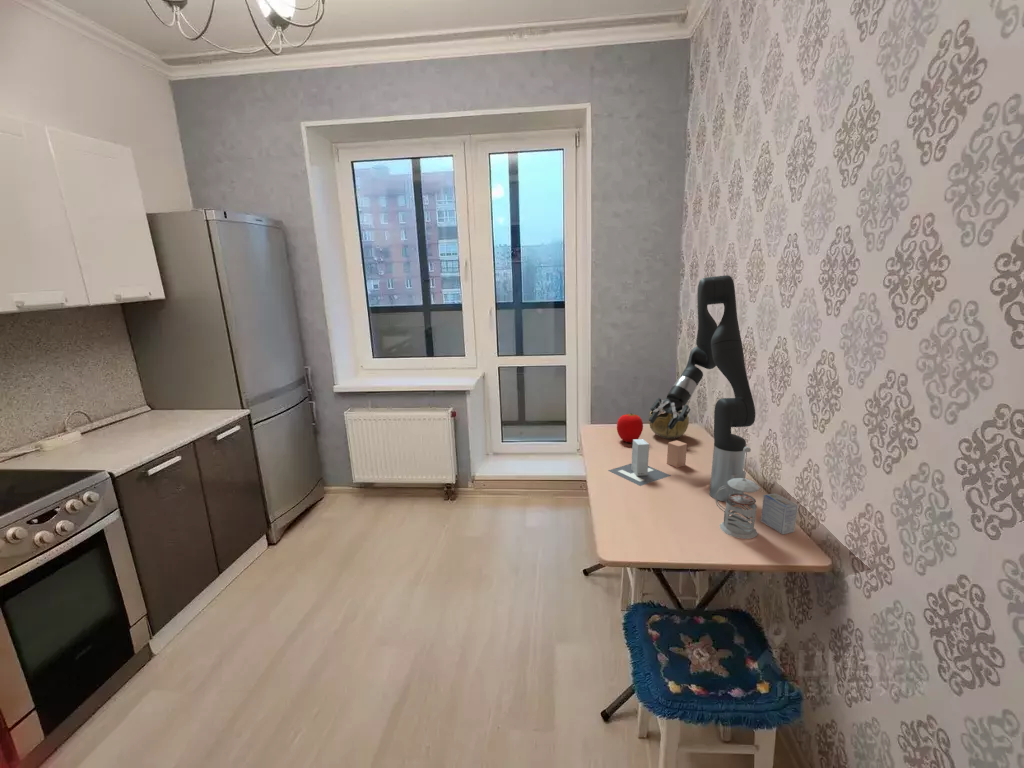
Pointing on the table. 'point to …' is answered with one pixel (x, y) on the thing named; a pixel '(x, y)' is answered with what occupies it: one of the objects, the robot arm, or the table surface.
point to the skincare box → (640, 457)
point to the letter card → (639, 480)
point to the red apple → (629, 427)
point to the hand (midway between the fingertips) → (659, 425)
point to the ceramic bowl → (662, 426)
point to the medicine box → (779, 513)
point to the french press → (735, 522)
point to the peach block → (676, 453)
